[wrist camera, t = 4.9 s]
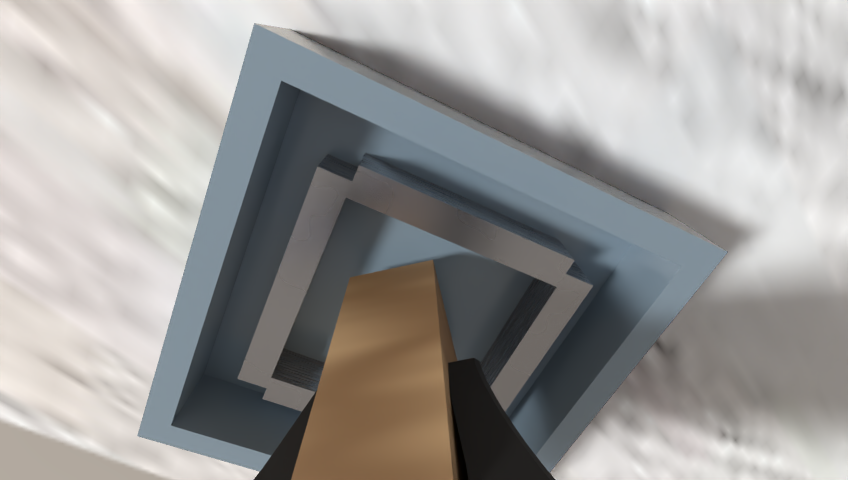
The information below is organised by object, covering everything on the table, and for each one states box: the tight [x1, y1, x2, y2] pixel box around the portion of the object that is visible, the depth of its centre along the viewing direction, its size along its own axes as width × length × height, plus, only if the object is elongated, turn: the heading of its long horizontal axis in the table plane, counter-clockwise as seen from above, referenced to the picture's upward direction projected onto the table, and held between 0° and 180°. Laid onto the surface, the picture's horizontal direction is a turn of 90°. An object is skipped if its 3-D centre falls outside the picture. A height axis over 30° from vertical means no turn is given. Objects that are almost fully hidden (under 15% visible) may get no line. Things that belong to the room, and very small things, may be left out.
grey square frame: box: [237, 153, 593, 411], centre depth 13 cm, size 8×8×1 cm
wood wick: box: [291, 260, 468, 480], centre depth 10 cm, size 2×4×7 cm, turn 13°
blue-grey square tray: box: [138, 23, 728, 473], centre depth 13 cm, size 12×12×3 cm
